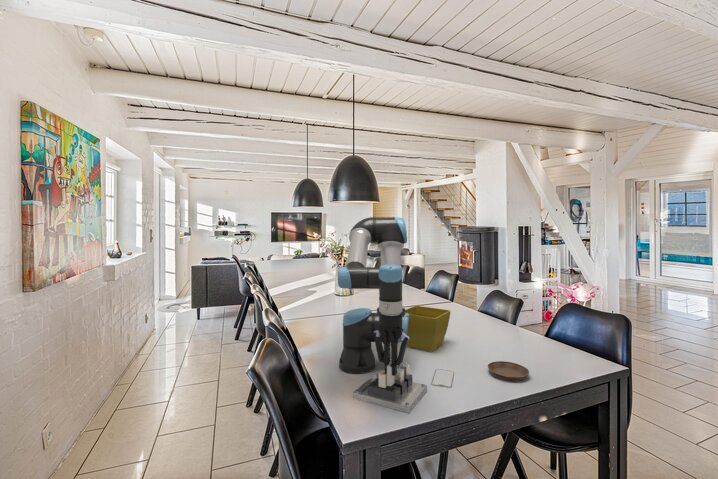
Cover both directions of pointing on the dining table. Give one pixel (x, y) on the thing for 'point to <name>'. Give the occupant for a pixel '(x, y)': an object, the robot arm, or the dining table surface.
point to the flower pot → (427, 327)
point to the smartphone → (443, 378)
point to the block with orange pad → (383, 380)
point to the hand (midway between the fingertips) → (390, 384)
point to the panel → (391, 403)
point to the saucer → (508, 370)
